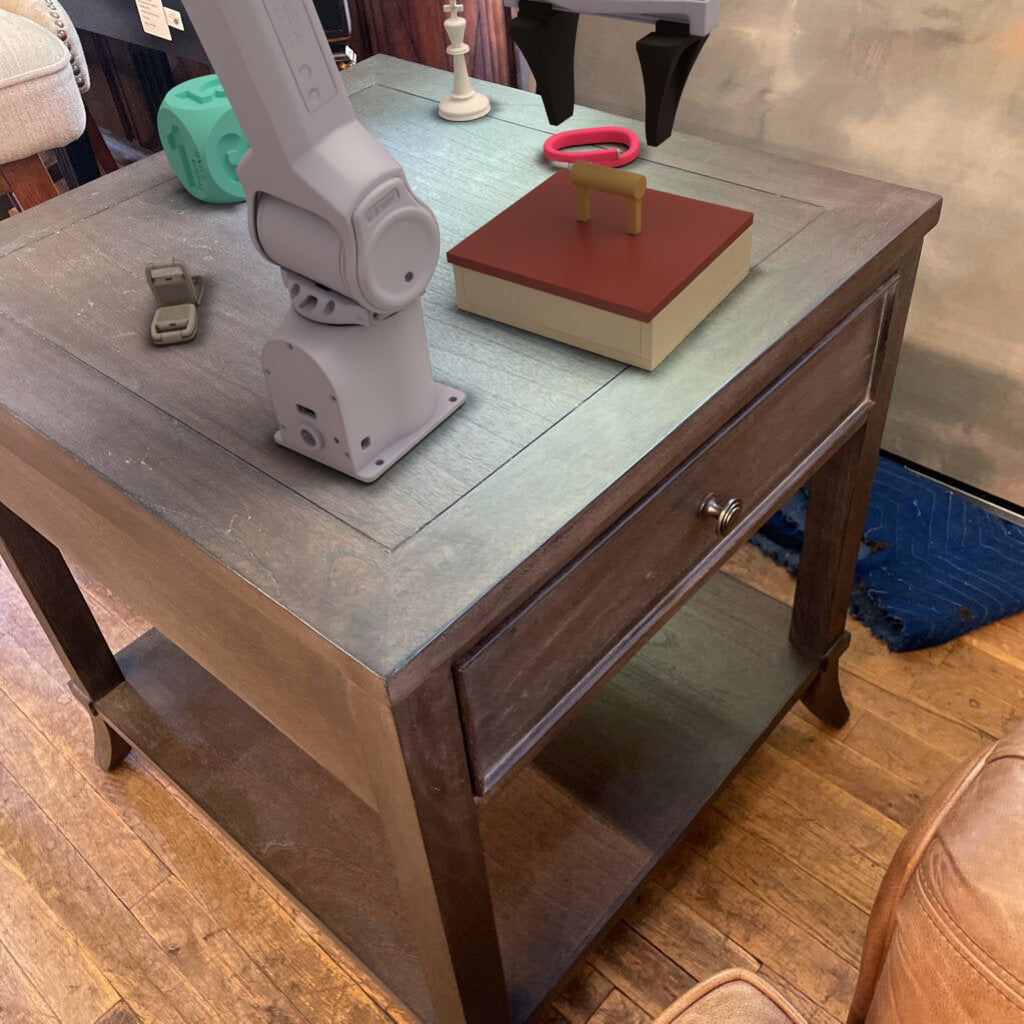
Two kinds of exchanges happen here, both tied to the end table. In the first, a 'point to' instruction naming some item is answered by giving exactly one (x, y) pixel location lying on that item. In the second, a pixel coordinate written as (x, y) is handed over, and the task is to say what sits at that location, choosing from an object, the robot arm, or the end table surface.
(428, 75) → the end table surface
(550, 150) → the fitness band
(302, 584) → the end table surface
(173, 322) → the strap clip
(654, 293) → the cover
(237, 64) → the robot arm
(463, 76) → the chess piece
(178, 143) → the decorative dice
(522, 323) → the hinged lid box
